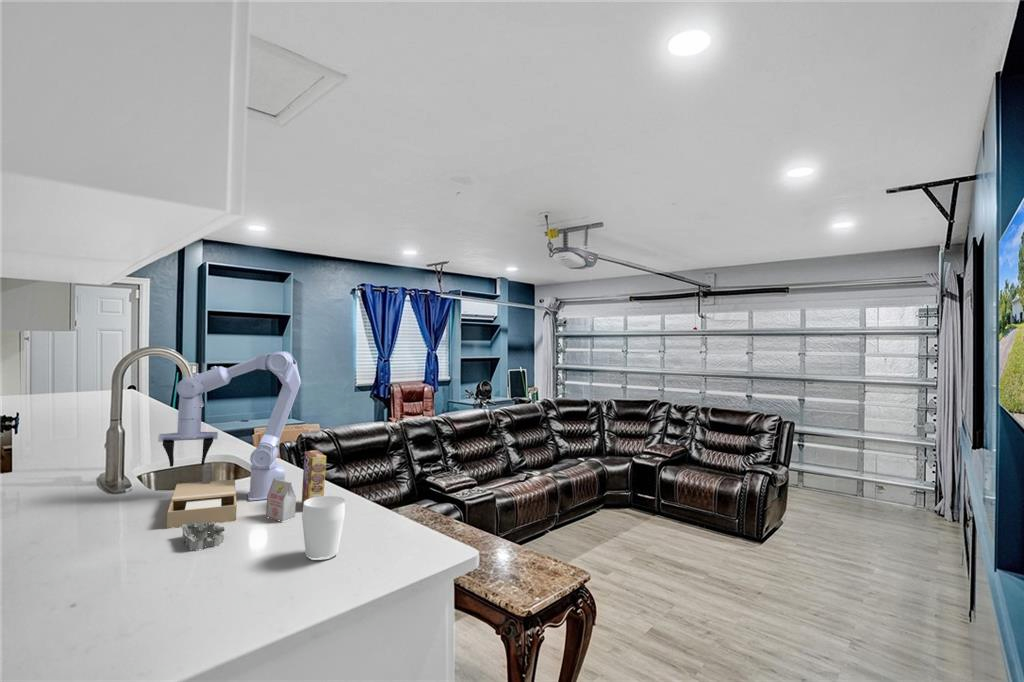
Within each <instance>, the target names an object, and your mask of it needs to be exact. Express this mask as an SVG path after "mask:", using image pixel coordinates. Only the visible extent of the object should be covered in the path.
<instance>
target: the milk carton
mask: <svg viewBox="0 0 1024 682" xmlns="http://www.w3.org/2000/svg"><path fill="white" fill-rule="evenodd" d="M296 502H297V497H296V493H295V491H294V489H293V486H292V482H290V481H286V480H285V481H282V480H278V479H273V482H272V485H271V488H270V490H269V492H268V495H267V499H266V516H265V518H266V517H269V518H272V519H271V520H273V519H275V520H274V521H276V520H280V521H285V520H288V519H291V518H294V517H295V518H296ZM269 518H268V519H269Z"/></svg>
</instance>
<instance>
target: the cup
mask: <svg viewBox="0 0 1024 682" xmlns="http://www.w3.org/2000/svg"><path fill="white" fill-rule="evenodd" d="M345 504H346V500H345V499H344V498H343V497H341V496H336V495H324V496H319V497H313V498H310V499H307V500H305V501H304V504H302V505H303V506H302V508H303V509H302V513H301V520H302V530H303V540H304V541H303V542H304V550H305V556H306V555H307V556H308V557H311V558H319V557H327V556H331V555H333V554H335V553H337V552H338V553H339V548H340V542H341V537H342V533H343V527H344V522H345V516H346V505H345Z"/></svg>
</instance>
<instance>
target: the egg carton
mask: <svg viewBox="0 0 1024 682" xmlns="http://www.w3.org/2000/svg"><path fill="white" fill-rule="evenodd" d="M181 528H182V539H183V540H186V541H185V546H186V545H188V550H189V549H190V550H189V551H192V550H191V549H197V550H198V551H200V550H199V549H204V548H203V547H205V546H209V547H212V546H217V547H220V545H222V544H221V543H223V544H224V539H225V537H224V536H225V534H224V533H223V532H225V531H226V530H225V527H224V526H220V525H219V524H218V525H217V524H216V523H213V522H211V523H210V524H206V523H205V522H203V523H196V524H194V523H192V524H188V525H187V524H182V527H181ZM207 532H210V533H212V534H211V537H208V533H207ZM193 535H194V536H196V537H194V536H193ZM212 537H214V538H212ZM183 540H182V541H183ZM211 545H212V546H211ZM205 548H206V547H205ZM197 550H196V551H197Z"/></svg>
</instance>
